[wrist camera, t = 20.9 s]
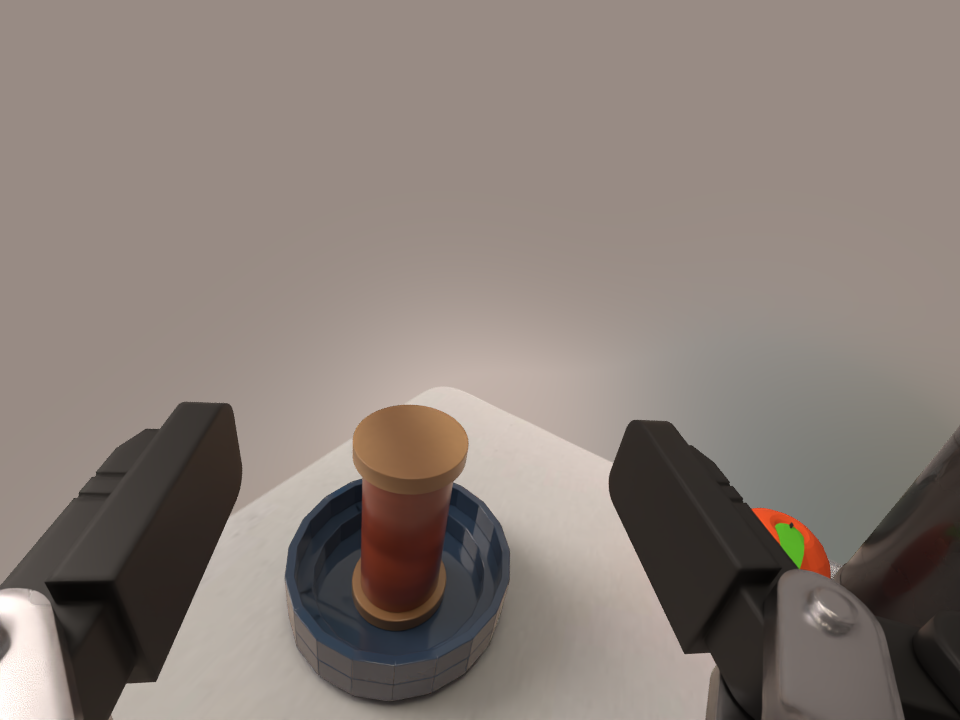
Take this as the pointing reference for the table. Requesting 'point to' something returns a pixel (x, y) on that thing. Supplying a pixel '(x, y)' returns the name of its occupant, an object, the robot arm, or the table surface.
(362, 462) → the spool
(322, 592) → the bowl
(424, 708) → the table surface
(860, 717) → the robot arm
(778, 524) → the clementine
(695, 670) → the table surface
